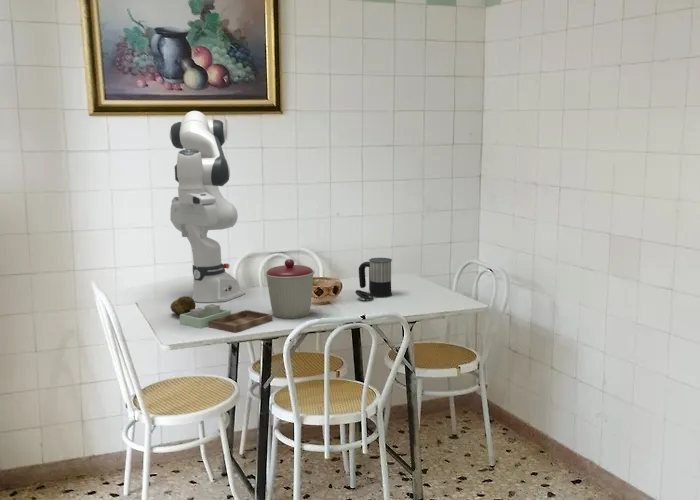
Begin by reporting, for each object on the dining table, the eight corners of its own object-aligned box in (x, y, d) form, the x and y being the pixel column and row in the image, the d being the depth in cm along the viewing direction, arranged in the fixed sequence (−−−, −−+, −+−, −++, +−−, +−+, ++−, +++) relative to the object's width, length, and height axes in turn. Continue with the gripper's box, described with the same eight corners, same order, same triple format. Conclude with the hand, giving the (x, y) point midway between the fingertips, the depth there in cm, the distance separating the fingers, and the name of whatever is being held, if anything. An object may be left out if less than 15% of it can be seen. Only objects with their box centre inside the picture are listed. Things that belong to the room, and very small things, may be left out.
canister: (260, 313, 272) (257, 257, 268) (306, 308, 279) (304, 253, 275) (275, 325, 255) (273, 265, 252) (323, 318, 262) (322, 260, 259)
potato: (192, 311, 278) (191, 290, 277) (197, 319, 266) (196, 297, 265) (170, 313, 276) (168, 292, 274) (174, 321, 264) (172, 299, 262)
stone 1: (191, 324, 257) (190, 310, 256) (199, 321, 260) (198, 307, 259) (198, 325, 254) (197, 311, 254) (206, 323, 257) (206, 309, 257)
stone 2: (205, 319, 262) (204, 306, 261) (213, 317, 265) (212, 304, 264) (212, 321, 259) (211, 307, 259) (220, 319, 262) (219, 305, 262)
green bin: (210, 317, 268) (209, 306, 268) (231, 321, 262) (230, 310, 261) (180, 326, 257) (179, 314, 257) (201, 330, 251) (200, 319, 250)
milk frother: (393, 292, 300) (392, 257, 298) (390, 302, 285) (390, 264, 283) (358, 292, 302) (357, 257, 300) (354, 301, 287) (353, 264, 284)
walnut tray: (246, 317, 266) (246, 309, 266) (272, 322, 258) (272, 314, 258) (208, 329, 252) (208, 320, 252) (235, 335, 244) (235, 326, 244)
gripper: (164, 197, 253) (167, 236, 256) (204, 199, 241) (207, 241, 244) (179, 195, 258) (181, 234, 261) (219, 197, 246) (221, 238, 248)
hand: (194, 237), depth 252 cm, fingers open, 8 cm apart
